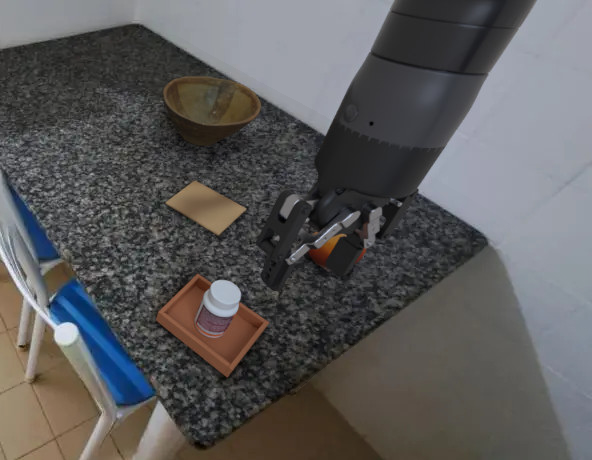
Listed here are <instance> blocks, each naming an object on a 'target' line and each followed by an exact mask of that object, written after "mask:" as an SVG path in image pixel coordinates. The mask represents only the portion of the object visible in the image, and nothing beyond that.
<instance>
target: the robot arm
mask: <svg viewBox="0 0 592 460" xmlns="http://www.w3.org/2000/svg"><path fill="white" fill-rule="evenodd" d="M537 1H538V0H393V1H392V4H391V5H390V8H389V10H388V13H387V14H386V16H385V18H384V20H383V22H382V25H381V27H380V29H379V31H378V33H377V35H376V37H375V40H374V41H373V43H372V46H371V48H370V51H369V52H368V54H367V56H366V57H365V60H364V61H363V62H362V64H361V66H360V67H359V68H358V70H357V72H356V73H355V75H354V76H353V78H352V80H351V82H350V84H349V85H348V87H347V89H346V91H345V94H344V96H343V98H342V100H341V101H340V104H339V107H337V108H338V109H337V111H336V113H335V114H334V116H333V119H332V121H331V123H330V125H329V128H328V129H327V132H326V134H325V136H324V138H323V140H322V142H321V144H320V146H319V149H318V151H317V153H316V155H315V157H314V160H313V161H314V162H313V163H314V167H315V170H316V172H317V181H316V182H315V183H314V185H312V187H311V188H310V189H309V190H308V191H307V193H306V194H296V193H294V192H293V191H292V190H290V189H284V190H281V192H280V193H279V195H278V196H277V198H276V201H275V202H274V204H273V207H272V208H271V211H270V212H269V214H268V217H267V219H266V220H265V222H264V224H263V227H262V228H261V231H260V233H259V234H258V237H257V239H256V241H255V245H256V247H258V249H260V250H261V251H262V252H263V253H264V254H266V255H267V256H268V258H267V259H266V262H265V263H264V266H263V268H262V270H261V272H260V278H261V281H262V282H263V283H264V284H265V285H266V286H267V287H268V288H269V289H270V290H271V291H272V292H278V291H282V290H283V289H284V287H285V285H286V283H287V281H288V280H289V277H290V276H291V274H292V272H293V270H294V268H295V266H296V264H297V263H296V262H297V261H298V260H300V259H301V258H302V257H303V256H304V255H305V254H307V253H308V251H309V250H310V249H319V248H320V247H322V246H323V245H324V244H325V243H326V242H327V241H328V240H329V239H331V238H332V237H334V236H337V235H339V234H345V235H346V236H343V237H340V238H339V240H338V241H337V243H336V245H335V246H334V248H333V250H332V251H331V253H330V255H329V257H328V258H327V260H326V262H325V264H326V266H327V267H328V268H329V269H330V270H331V271H330V272H332V273H334V274H335V276H338V277H343V276H344V277H345V276H347V275H348V274H350V273H349V272H351V270H352V268H353V266H354V265H356V264H355V262H356V261H357V259H358V258H359V256H360V254H361V253H362V251H363V250H364V248H365V249H366V250H368V249H370V248H371V247H372V246H373V245H374V244H375V243H376V240H377V239H378V240H379V241H381V242H384V241H387V240H388V239H389V238H390V237H391V235H393V232H394V231H395V229H396V228H397V226H398V225H399V223H400V221H401V220H402V218H403V217H404V215H405V214H406V213H407V211H408V209H409V207H410V206H411V204H412V203H413V201H414V200H415V199H416V196H417V195H418V194H419V192H420V191H419V190H420V189H419V187H420V186H421V184H422V182H423V181H424V180H425V178H426V176H427V175H428V173H429V172H430V170H432V168H433V166H434V164H435V163H436V161H438V158H439V157H440V155H441V154H442V153H443V151H444V150H445V148H446V147H447V145H448V143H449V142H450V141H451V139H452V138H453V136H454V135H455V133H456V132H457V131H458V129H459V127H460V126H461V124H462V123H463V121H464V120H465V118H466V117H467V115H468V114H469V113H470V111H471V109H472V108H473V106H474V104H475V102H476V100H477V99H478V96H479V94H480V91H481V89H482V88H483V85H484V83H485V82H486V80H487V78H488V77H489V75H490V73H491V72H492V70H493V69H494V67H495V66H496V64H497V63H498V61H499V60H500V58H501V57H502V55H503V53H504V52H505V51H506V49H507V48H508V46H509V44H510V43H511V42H512V40H513V38H514V37H515V36H516V34H517V33H518V31H519V30H520V28H521V27H522V25H523V24H524V22H525V21H526V19H527V18H528V17H529V14H531V11H532V10H533V8H534V6H535V5H536V3H537ZM380 217H384V218H385V221H384V223H383V225H381V222H380ZM306 223H307V224H308V226H309V227H310V228H312V229H313V230H314V231H315V232H316V231H317V232H318V233H317V234H314V235H312V234H313V233H309V232H308V231H307V230H305V229H304V228H303V227H304V225H305V224H306ZM275 235H277V236H275ZM297 237H298V238H299V239H300V242H299V243H298V244H297V245H295V246H294V247H293V248H292V246H293V244H294V242H295V240H296V239H297Z"/></svg>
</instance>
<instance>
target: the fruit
mask: <svg viewBox="0 0 592 460" xmlns="http://www.w3.org/2000/svg"><path fill="white" fill-rule="evenodd" d="M317 233H318V232H317V231H316V230H315V231H314V232H313V233H311V234H312V235H314V234H317ZM343 236H346V235H345V234H339V235H337V236H334V237H332V238H331V239H329V240H328V241H327V242H326V243H325V244H324V245H323V246H322V247H320V248H319V249H310V250H309V251H307V253H308V255H309V258H311V260H313V263H315V265H317V266H319V267H321V268H323V270H325V271H326V272H327V273H329V272H332V271H331V270H330V269H329V268H328V267H327V266H326V264H325V262H326V260H327V258H328V257H329V255H330V253H331V251H332V250H333V248H334V246H335V245H336V243H337V241H338V240H339V238H340V237H343ZM366 252H367V249H365V248H364V250H363V251H362V253H361V254H360V256H359V258H358V259H357V261H356V262H355V264H354V265H356V264H358V263H359V262H360V261H361V260H362V258H363V257H364V255H365V254H366ZM350 272H351V271H349V273H348V274H350Z"/></svg>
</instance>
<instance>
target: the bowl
mask: <svg viewBox="0 0 592 460" xmlns="http://www.w3.org/2000/svg"><path fill="white" fill-rule="evenodd" d="M162 99H163V104H164V107H165V110H166V112H167V115H168V117H169V119H170V121H171V123H172V125H173V126H174V128H175V129H176V131H177V132H178V133H179V135H180V137H181V138H182V139H183V140H185V141H186V142H187V143H190V144H192V145H195V146H199V147H203V146H204V147H208V146H212V145H214V144H216V143H218V142H220V141H222V140H224V139H227V138H228V137H230V136H232V135H234V134H236V133H237V132H238V131H240V130H242V129H243V128H245V127H246V126H247V125H249V124H250V123H252V121H254V120H255V119H256V118H257V117H258V116H259V114H260V113H261V110H262V103H261V100H260V98H259V96H258V95H257V93H256V92H255V91H253V90H252V88H249V87H248V86H246V85H244V84H241V83H239V82H237V81H234V80H231V79H225V78H217V77H213V76H206V75H205V76H204V75H201V76H191V75H188V76H181V77H177V78H174V79H172V80H171V81H169V82H168V83H167V84H166V85H165V86H164V87H163V90H162Z"/></svg>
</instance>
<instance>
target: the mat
mask: <svg viewBox="0 0 592 460" xmlns="http://www.w3.org/2000/svg"><path fill="white" fill-rule="evenodd" d="M165 205H166V206H168V207H170V208H172V209H173V210H175V211H177V212H178V213H180V214H182V215H183V216H185V217H186V218H188V219H189V220H191V221H193V222H195V223H196V224H198V225H199V226H201V227H203V228H204V229H206V230H208V231H209V232H210V233H213V234H214V235H216V236H217V237H219V236H220V235H221V234H222V233H223V232H224V231H225V230H227V228H229V227H230V226H232V224H233V223H235V221H236V220H237V219H238V218H239V217H241V215H243V214H244V213H245V212H246V211H247V208H246V207H244V206H243V205H241V204H239V203H237V202H236V201H233V200H232V199H230V198H228V197H226V196H224V195H223V194H221V193H219V192H217V191H215V190H213V189H212V188H210V187H208V186H207V185H204V184H203V183H201V182H199V181H197V180H193V181H191V182H190V183H189V184H188V185H187V186H185V187H184V188H182V189H181V190H180V191H179V192H177V193H176V194H175V195H173V196H172V197H171V198H170V199H168V200H167V201H165Z"/></svg>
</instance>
